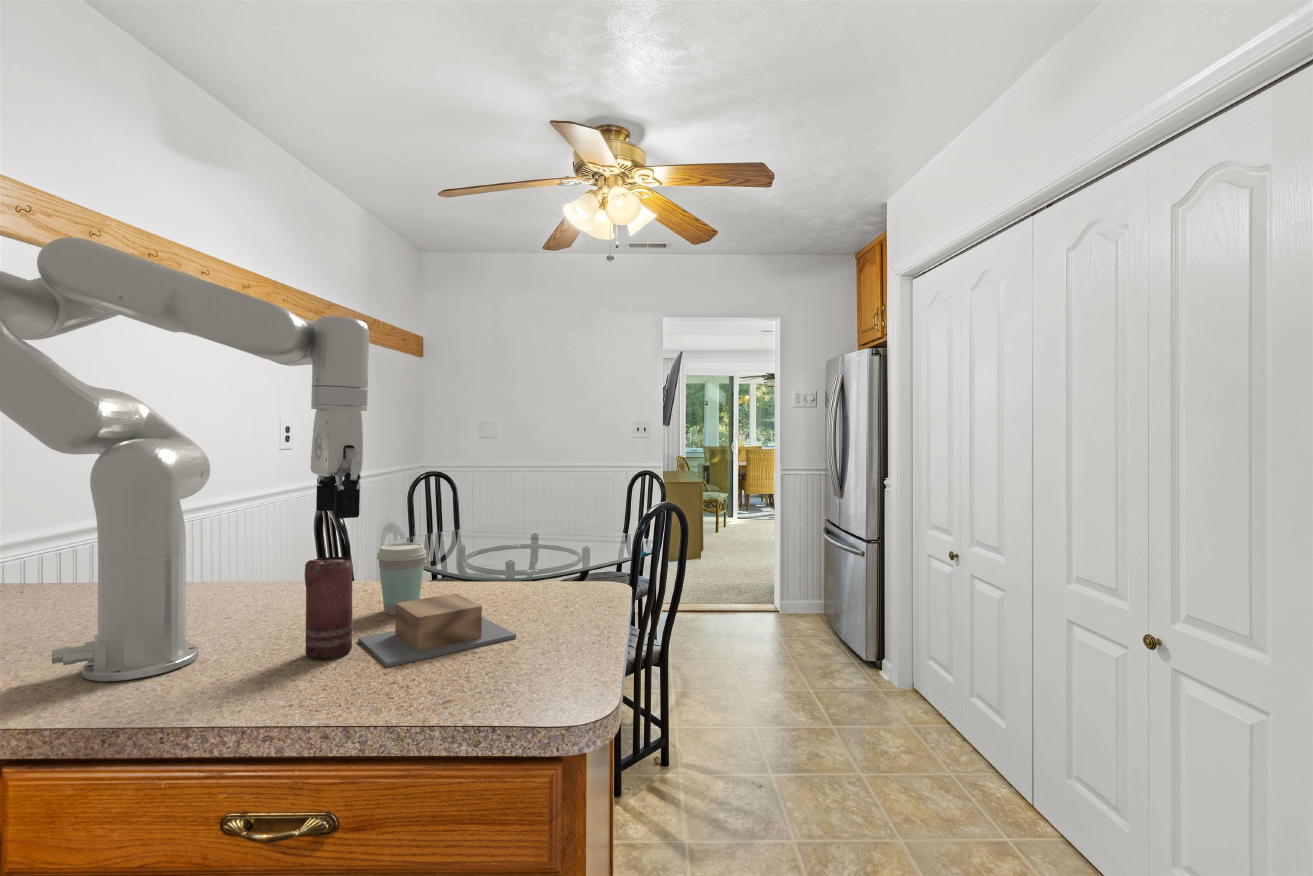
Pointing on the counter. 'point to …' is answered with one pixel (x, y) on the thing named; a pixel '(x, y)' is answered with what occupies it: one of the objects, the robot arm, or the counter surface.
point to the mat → (399, 652)
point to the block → (438, 621)
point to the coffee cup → (400, 573)
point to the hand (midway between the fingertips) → (337, 514)
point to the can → (328, 607)
